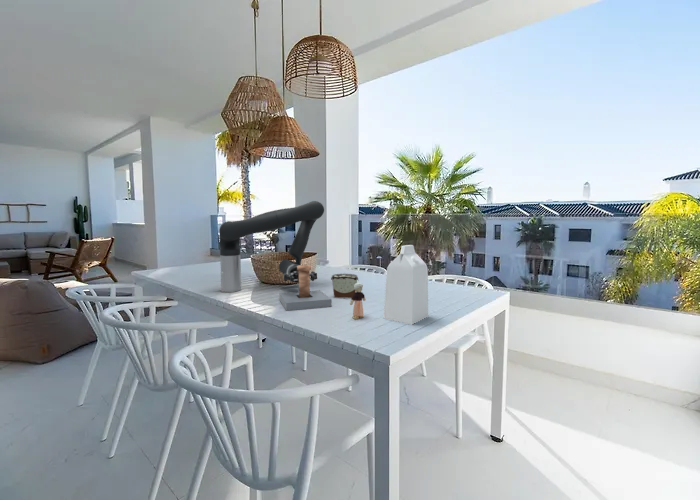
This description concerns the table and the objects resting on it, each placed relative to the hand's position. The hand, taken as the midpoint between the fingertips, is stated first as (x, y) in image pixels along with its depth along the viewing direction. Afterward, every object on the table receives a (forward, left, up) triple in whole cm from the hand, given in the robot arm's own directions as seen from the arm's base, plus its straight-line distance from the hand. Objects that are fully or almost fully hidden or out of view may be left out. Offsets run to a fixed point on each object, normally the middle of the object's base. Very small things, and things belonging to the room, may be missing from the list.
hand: (303, 279), depth 146 cm
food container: (+20, +5, -10) cm, 23 cm away
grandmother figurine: (+14, -27, -10) cm, 32 cm away
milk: (+30, -33, -10) cm, 46 cm away
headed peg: (0, -1, -10) cm, 10 cm away
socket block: (0, -1, -10) cm, 10 cm away
